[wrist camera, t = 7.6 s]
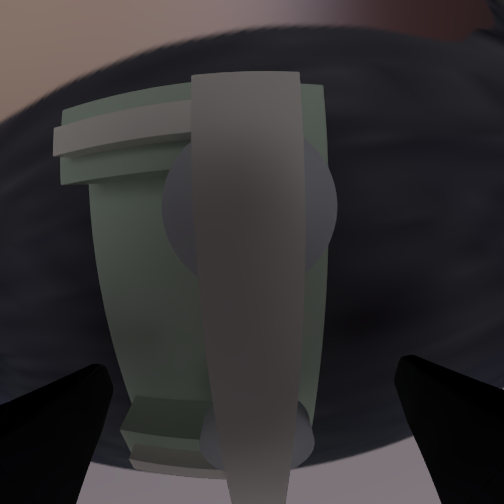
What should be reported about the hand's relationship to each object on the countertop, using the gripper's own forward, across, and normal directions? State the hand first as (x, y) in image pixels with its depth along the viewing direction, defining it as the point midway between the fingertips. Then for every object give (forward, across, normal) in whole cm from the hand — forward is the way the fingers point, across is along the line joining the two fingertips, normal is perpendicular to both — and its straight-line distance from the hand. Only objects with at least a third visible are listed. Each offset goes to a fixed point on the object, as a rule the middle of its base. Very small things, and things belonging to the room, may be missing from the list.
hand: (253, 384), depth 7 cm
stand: (+7, +2, 0) cm, 7 cm away
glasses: (+3, +2, 0) cm, 3 cm away
